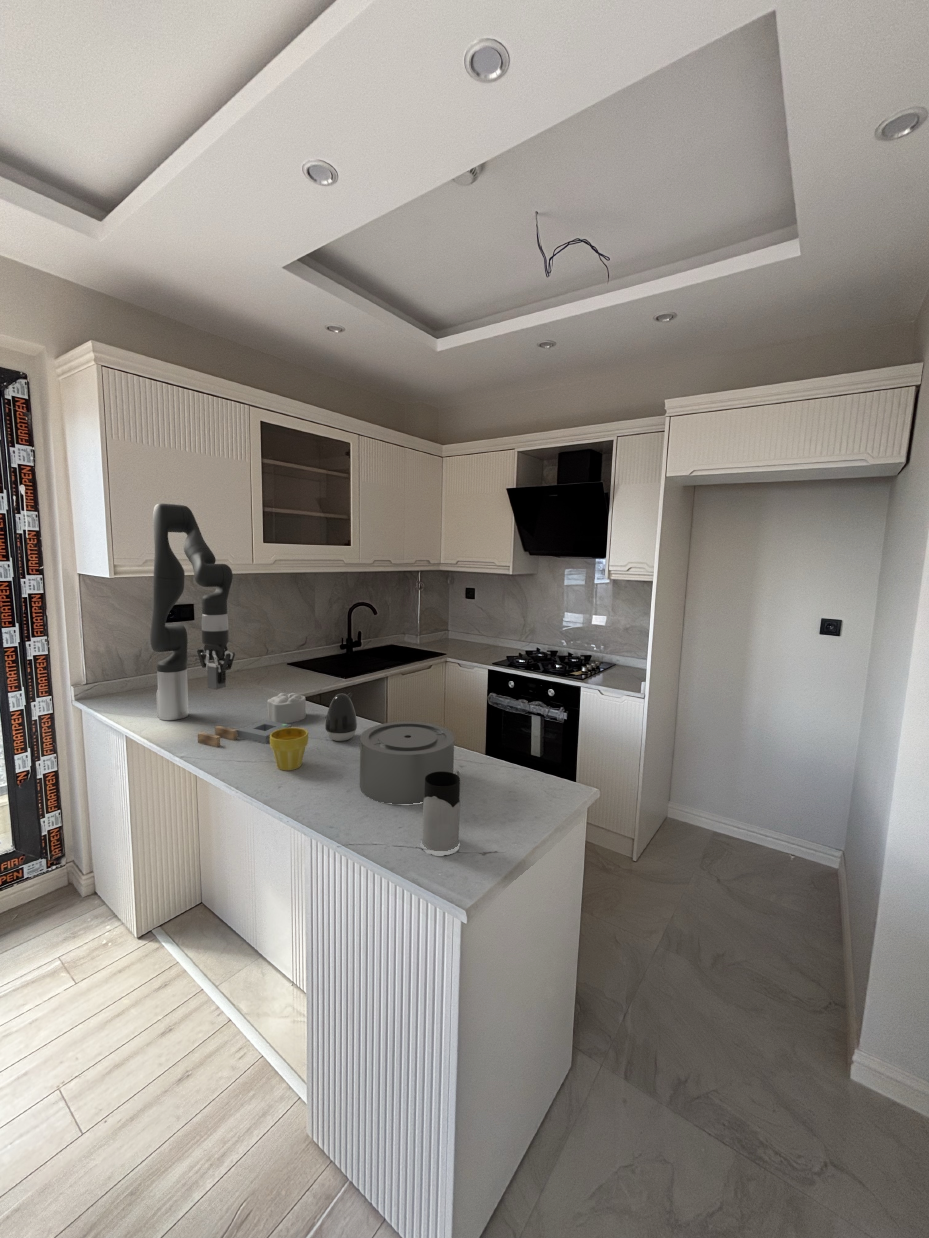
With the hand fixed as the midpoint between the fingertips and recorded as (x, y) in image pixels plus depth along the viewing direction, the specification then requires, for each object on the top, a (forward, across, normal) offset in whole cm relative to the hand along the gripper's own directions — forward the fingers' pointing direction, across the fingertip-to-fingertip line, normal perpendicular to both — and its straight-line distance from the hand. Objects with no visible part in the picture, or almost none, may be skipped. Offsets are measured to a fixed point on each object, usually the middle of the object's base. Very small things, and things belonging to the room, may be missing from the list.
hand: (216, 682), depth 165 cm
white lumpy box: (+19, -4, -28) cm, 34 cm away
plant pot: (+19, -33, +5) cm, 39 cm away
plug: (+2, 0, 0) cm, 2 cm away
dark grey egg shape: (+19, -33, -20) cm, 43 cm away
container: (+19, -68, 0) cm, 71 cm away
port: (+19, -9, -11) cm, 24 cm away
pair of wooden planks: (+19, 0, 0) cm, 19 cm away
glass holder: (+19, -89, +20) cm, 93 cm away
